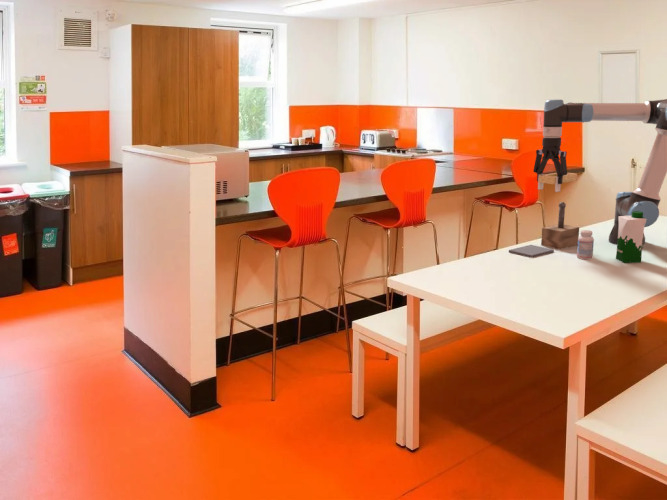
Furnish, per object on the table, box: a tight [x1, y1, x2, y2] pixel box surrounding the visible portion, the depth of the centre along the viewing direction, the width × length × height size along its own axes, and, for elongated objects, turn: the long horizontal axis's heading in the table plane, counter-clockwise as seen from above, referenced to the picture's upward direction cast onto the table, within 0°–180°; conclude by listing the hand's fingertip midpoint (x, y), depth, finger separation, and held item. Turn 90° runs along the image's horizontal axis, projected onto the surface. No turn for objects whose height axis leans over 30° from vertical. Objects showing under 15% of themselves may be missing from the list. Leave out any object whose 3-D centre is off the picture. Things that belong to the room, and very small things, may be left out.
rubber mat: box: [508, 244, 555, 259], centre depth 289 cm, size 12×15×1 cm
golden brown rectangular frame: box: [539, 172, 578, 185], centre depth 290 cm, size 8×16×3 cm, turn 126°
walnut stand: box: [540, 201, 580, 250], centre depth 298 cm, size 10×13×20 cm
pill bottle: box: [576, 229, 595, 260], centre depth 277 cm, size 6×6×11 cm
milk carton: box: [615, 211, 647, 264], centre depth 270 cm, size 9×9×20 cm
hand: (548, 190), depth 288 cm, fingers closed on golden brown rectangular frame, 8 cm apart
